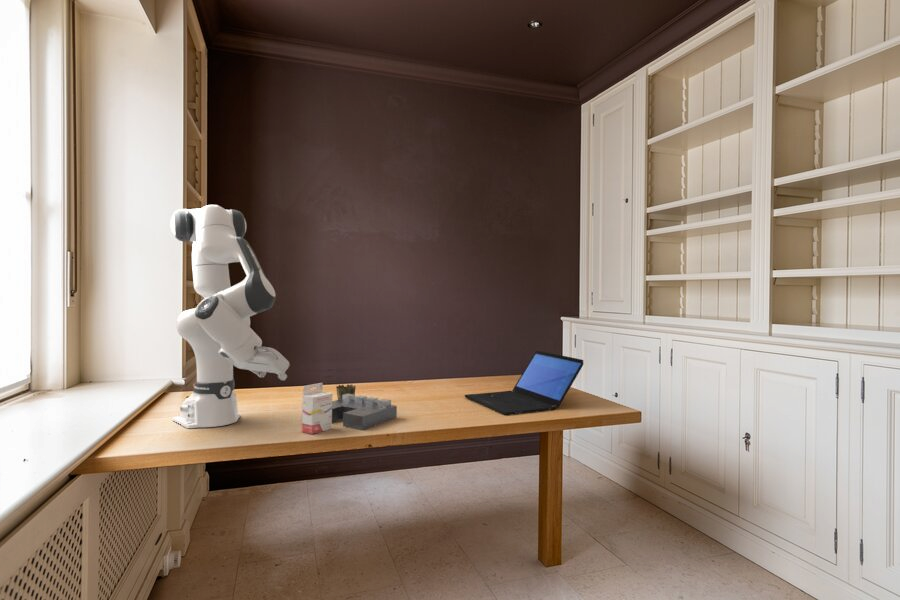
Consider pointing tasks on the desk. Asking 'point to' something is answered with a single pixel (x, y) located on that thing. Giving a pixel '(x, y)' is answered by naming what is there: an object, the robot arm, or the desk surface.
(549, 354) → the laptop
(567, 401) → the desk surface
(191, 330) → the robot arm
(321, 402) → the ink cartridge box
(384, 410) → the castellated collar
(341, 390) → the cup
